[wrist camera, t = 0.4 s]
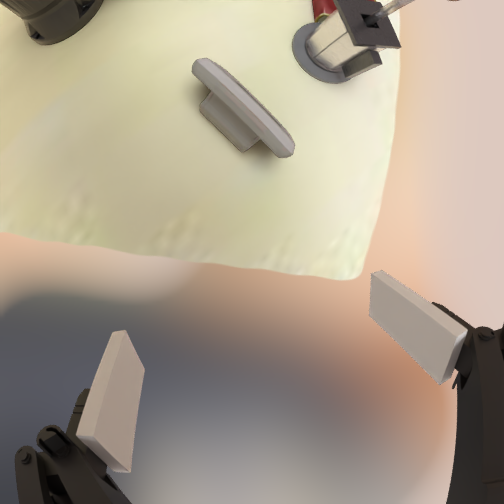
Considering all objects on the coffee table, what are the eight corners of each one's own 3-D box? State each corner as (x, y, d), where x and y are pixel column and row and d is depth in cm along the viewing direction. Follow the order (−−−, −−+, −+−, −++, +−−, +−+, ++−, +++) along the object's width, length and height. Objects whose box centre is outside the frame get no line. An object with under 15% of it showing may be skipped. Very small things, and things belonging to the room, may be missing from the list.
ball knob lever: (338, 12, 23) (430, -56, 5) (367, 15, 24) (461, -39, 5) (351, 42, 25) (459, -16, 7) (379, 43, 25) (486, 0, 7)
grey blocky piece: (297, 31, 32) (331, -6, 20) (341, 30, 33) (381, 0, 21) (317, 84, 35) (360, 60, 23) (360, 80, 36) (408, 61, 24)
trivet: (282, 25, 32) (283, 23, 31) (343, 24, 33) (346, 23, 32) (305, 87, 36) (307, 86, 35) (366, 81, 37) (368, 80, 36)
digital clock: (292, 144, 39) (322, 138, 29) (242, 175, 39) (256, 178, 29) (235, 59, 33) (247, 28, 23) (182, 87, 33) (177, 61, 23)
